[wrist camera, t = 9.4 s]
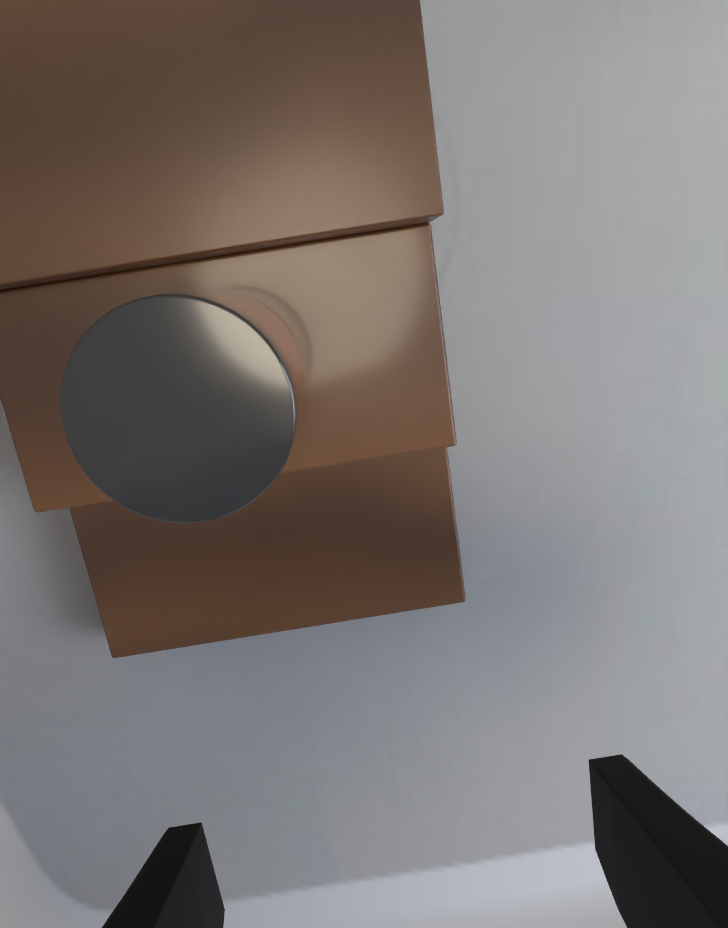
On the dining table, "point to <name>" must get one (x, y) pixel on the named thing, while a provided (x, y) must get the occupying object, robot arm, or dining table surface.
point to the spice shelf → (237, 289)
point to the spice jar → (183, 403)
